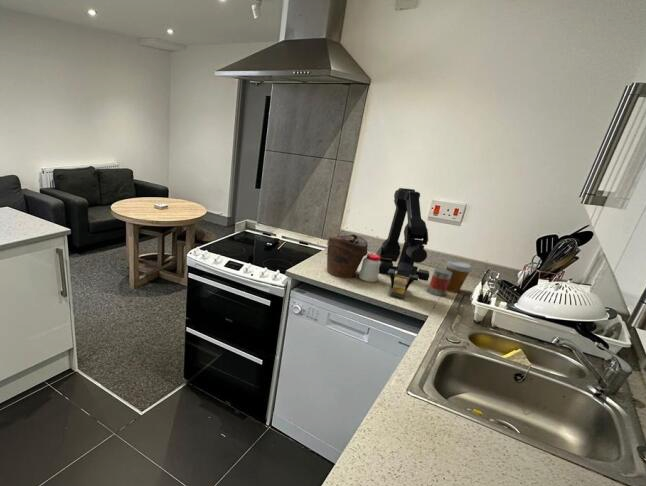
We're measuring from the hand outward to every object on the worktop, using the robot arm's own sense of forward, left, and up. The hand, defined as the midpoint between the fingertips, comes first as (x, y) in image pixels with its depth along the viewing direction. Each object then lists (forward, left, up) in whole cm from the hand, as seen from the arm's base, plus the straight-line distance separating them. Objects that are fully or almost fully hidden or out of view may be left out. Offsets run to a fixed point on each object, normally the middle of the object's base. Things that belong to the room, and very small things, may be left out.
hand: (398, 289), depth 165 cm
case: (-25, +9, -1) cm, 27 cm away
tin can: (+15, +11, -1) cm, 19 cm away
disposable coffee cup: (+21, +20, -1) cm, 29 cm away
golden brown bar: (0, 0, -1) cm, 1 cm away
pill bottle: (-13, +9, -1) cm, 16 cm away
